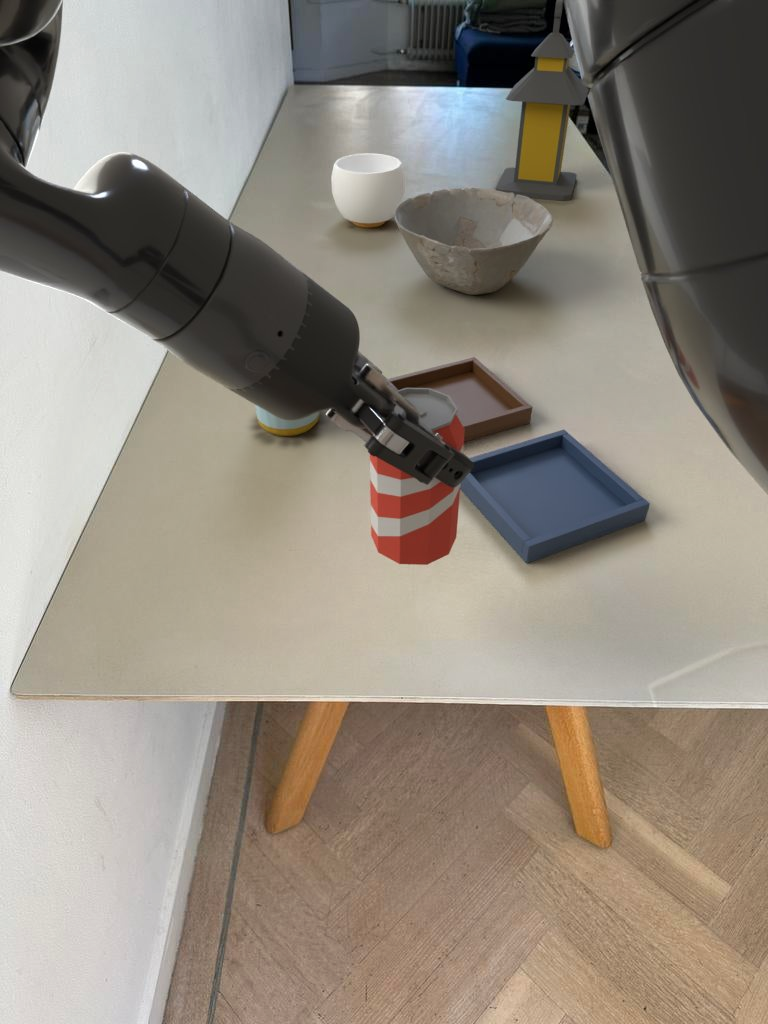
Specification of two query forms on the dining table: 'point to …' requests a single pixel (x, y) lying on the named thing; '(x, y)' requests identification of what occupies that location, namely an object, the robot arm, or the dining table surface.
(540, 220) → the ceramic bowl
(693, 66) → the robot arm
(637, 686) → the dining table surface
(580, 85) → the lantern
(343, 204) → the cup
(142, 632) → the dining table surface
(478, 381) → the tray
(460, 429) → the beverage can
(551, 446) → the tray
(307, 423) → the bottle
